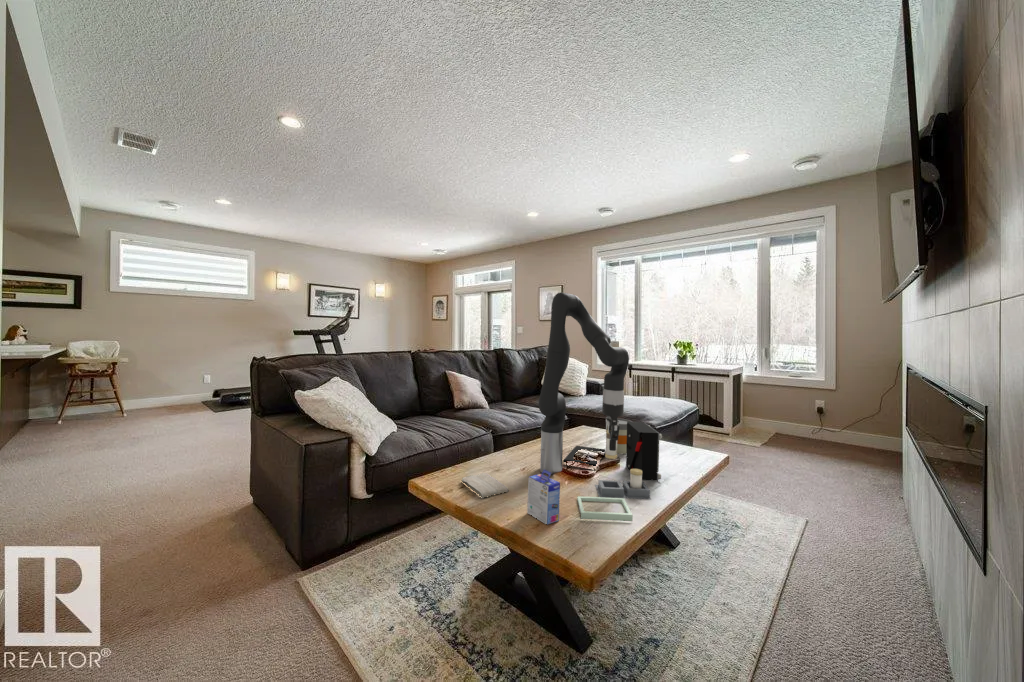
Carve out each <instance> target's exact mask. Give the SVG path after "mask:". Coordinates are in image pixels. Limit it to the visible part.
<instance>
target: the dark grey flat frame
mask: <svg viewBox="0 0 1024 682" xmlns="http://www.w3.org/2000/svg"><path fill="white" fill-rule="evenodd" d="M581 449H587V450H593V451H602V452H605V453H606V448H596V447H589V446H584V445H581V446H580V445H575V446H574V447H573V449H572V450H571V451H570V452H569V453H568V454H567V455H566V457H564V459H562V463H563V462H566V461H575V462H580V463H586V464H589V465H593V466H596V464H597V461H590V462H583V461H581V460H574V459H573V457H574V455H575V453H576V452H577V451H578V450H581Z"/></svg>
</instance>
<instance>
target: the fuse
mask: <svg viewBox="0 0 1024 682" xmlns="http://www.w3.org/2000/svg"><path fill="white" fill-rule="evenodd" d="M610 431H611V430H610ZM613 437H615V435H613ZM609 438H610V436H609V433H608V429H606V428H605V455H604V457H605V458H606V459H610V460H616V459H618V454H617V441H616V450H615V451H610V449H609V443H610V439H609Z"/></svg>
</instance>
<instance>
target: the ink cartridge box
mask: <svg viewBox="0 0 1024 682" xmlns="http://www.w3.org/2000/svg"><path fill="white" fill-rule="evenodd" d="M546 473H547V475H545V474H546ZM551 475H552V474H551V472H548V471H546V470H543V472H542V473H538V474H534V475H530V476H528V485H527V490H528V491H527V507H526V509H527V510H526V513H527V514H528V515H530V516H531V515H532V517H533V518H535V519H536V518H537V519H536V520H537V521H540V522H541V523H543V524H545V525H546V524H547V525H550V524H553V523H557V522H559V521H560V496H561V494H560V493H561V491H560V490H561V482H560V481H558V480H556V479H553V478H550V477H551Z"/></svg>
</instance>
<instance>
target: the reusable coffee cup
mask: <svg viewBox="0 0 1024 682" xmlns="http://www.w3.org/2000/svg"><path fill="white" fill-rule="evenodd" d="M617 421H619V426H620V428H619V436H618V440H617V455H618V454H619V455H626V446H627V422H633V421H632V420H630V419H627V418H626V419H625V418H617Z"/></svg>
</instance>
